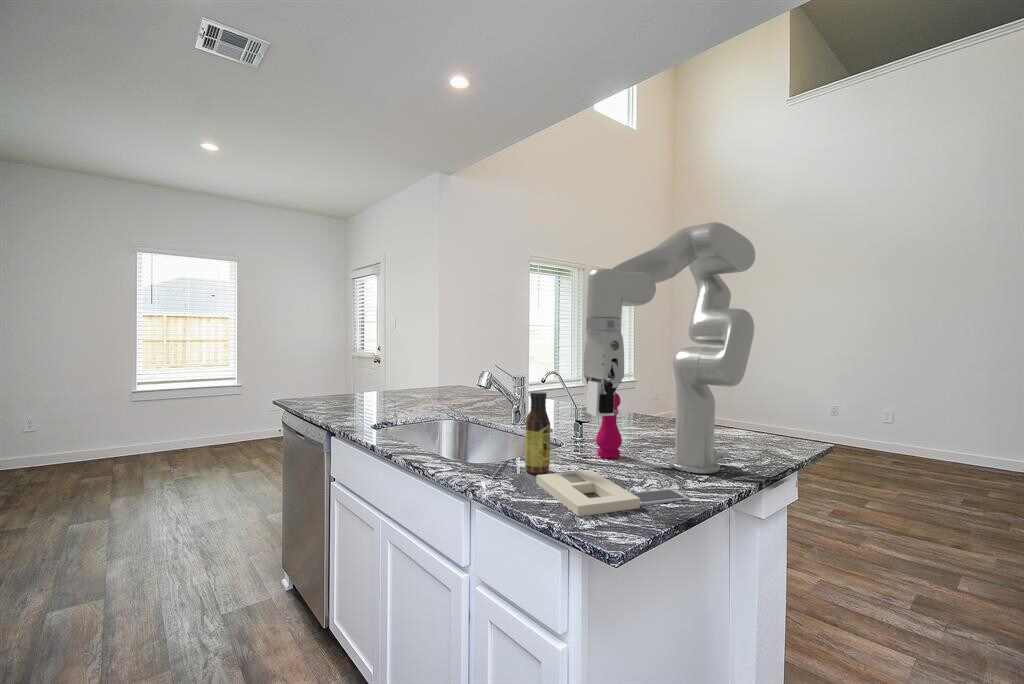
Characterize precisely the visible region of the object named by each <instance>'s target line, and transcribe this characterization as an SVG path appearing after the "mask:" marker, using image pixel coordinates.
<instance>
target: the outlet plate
mask: <svg viewBox="0 0 1024 684" xmlns="http://www.w3.org/2000/svg"><path fill="white" fill-rule="evenodd" d="M537 484H538V485H537ZM536 485H537V486H539V487H540V488H541V487H542V488H543V489H542V488H541V489H542V490H543V491H545V492H546V493H547V492H548V493H547V494H548V495H550V496H551V495H552V496H553V497H552V496H551V497H552V498H553V499H555V500H556V499H557V500H558V501H557V500H556V501H557V502H559V504H561V503H562V504H563V505H562V504H561V505H562V506H563V507H565V506H566V507H567V508H568V509H567V508H566V507H565V508H566V509H567V510H569V511H570V510H571V511H572V512H573V513H572V512H571V511H570V512H571V513H572V514H573V515H575V514H576V515H577V516H579V517H585V516H584V515H586V516H592V515H593V516H594V515H599V514H600V515H601V514H608V513H614V512H621V511H622V512H623V511H628V510H636V509H640V508H641V506H640V498H639V497H637V496H635V495H633V494H632V493H633V492H630V491H629V490H626V489H624V488H623V487H621V486H619V485H617V484H616V483H614V482H612V481H611V480H609V479H607V478H605V477H603V476H602V475H600V474H599V473H596V472H595V471H593V470H592V469H585V470H575V471H566V472H565V471H564V472H555V473H542V474H536ZM589 493H594V494H595V495H597V496H598V497H597V496H596V497H588V496H587V495H585V494H589ZM576 515H575V516H576ZM577 516H576V517H577Z"/></svg>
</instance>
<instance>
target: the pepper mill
mask: <svg viewBox="0 0 1024 684" xmlns="http://www.w3.org/2000/svg"><path fill="white" fill-rule="evenodd" d="M621 402H622V400H621V397H620V395H619V394H618V393H617V392H616V394H615V395H614V416H601V425H600V427H599V429H598V431H597V432H596V433H597V434H596V437H595V443H596V445H597V446H598V448H597V449H596V450H597V452H596V455H597V457H599V456H600V457H599V458H601V457H604V458H603V459H605V458H617V459H619V458H620V456H621V455H620V454H621V451H620V449H619V448H620V447H621V446H622V443H623V441H622V435H621V432H620V430H619V428H618V423H617V422H618V421H617V416H618V415H619V408H618V407H619V406H620V405H621ZM618 457H619V458H618Z"/></svg>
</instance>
